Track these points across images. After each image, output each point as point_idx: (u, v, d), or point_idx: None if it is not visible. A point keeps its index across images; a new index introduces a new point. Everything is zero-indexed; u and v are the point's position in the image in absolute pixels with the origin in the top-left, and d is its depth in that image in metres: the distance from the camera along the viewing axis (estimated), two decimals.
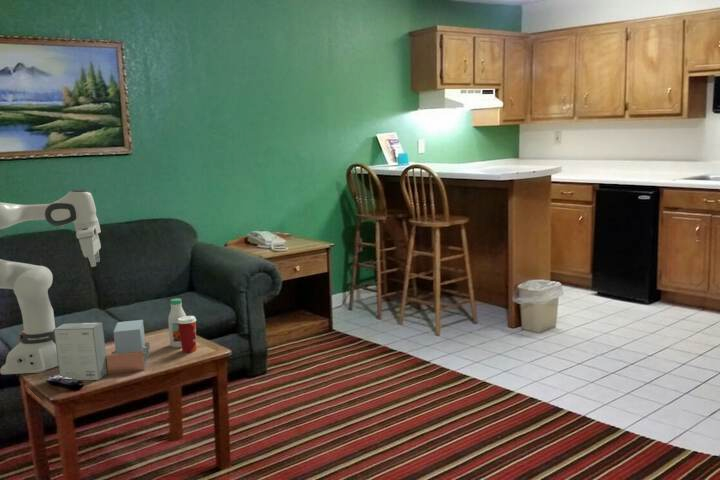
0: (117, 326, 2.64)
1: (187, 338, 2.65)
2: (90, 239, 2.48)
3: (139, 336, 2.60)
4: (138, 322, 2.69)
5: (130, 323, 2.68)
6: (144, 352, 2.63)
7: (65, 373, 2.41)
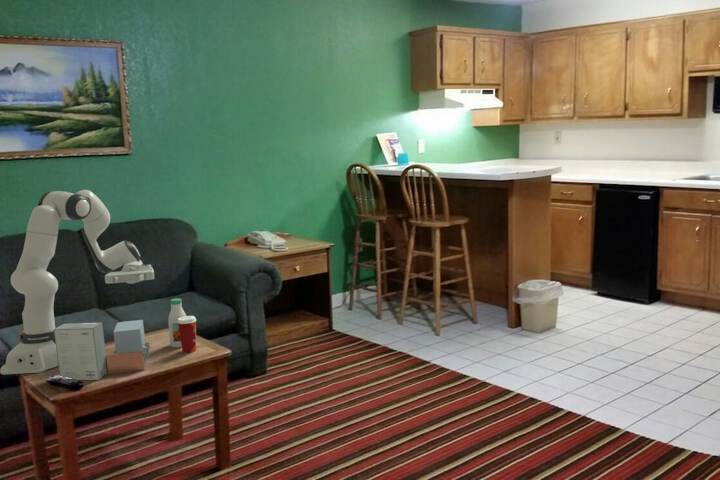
0: (117, 326, 2.64)
1: (187, 338, 2.65)
2: None
3: (139, 336, 2.60)
4: (138, 322, 2.69)
5: (130, 323, 2.68)
6: (144, 352, 2.63)
7: (65, 373, 2.41)
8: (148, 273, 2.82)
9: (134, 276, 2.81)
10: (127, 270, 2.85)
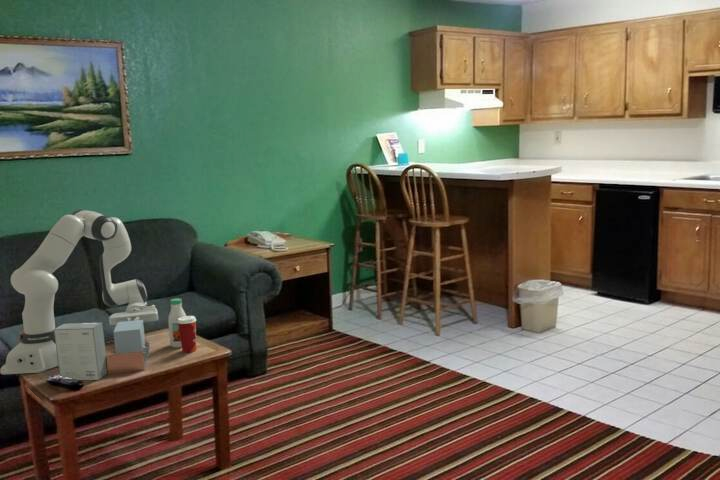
0: (117, 326, 2.64)
1: (187, 338, 2.65)
2: None
3: (139, 336, 2.60)
4: (138, 322, 2.69)
5: (130, 323, 2.68)
6: (144, 352, 2.63)
7: (65, 373, 2.41)
8: (152, 314, 2.83)
9: None
10: (131, 311, 2.87)
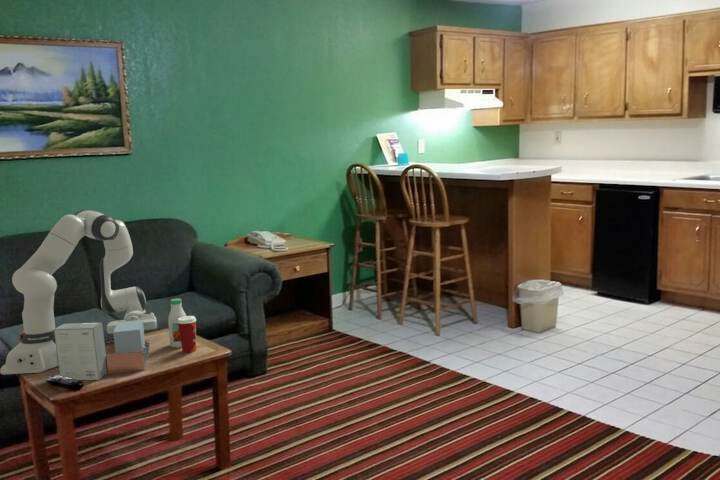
0: (117, 326, 2.64)
1: (187, 338, 2.65)
2: None
3: (139, 336, 2.59)
4: (138, 322, 2.69)
5: (130, 323, 2.68)
6: (144, 352, 2.63)
7: (65, 373, 2.41)
8: (151, 323, 2.78)
9: None
10: (129, 319, 2.81)
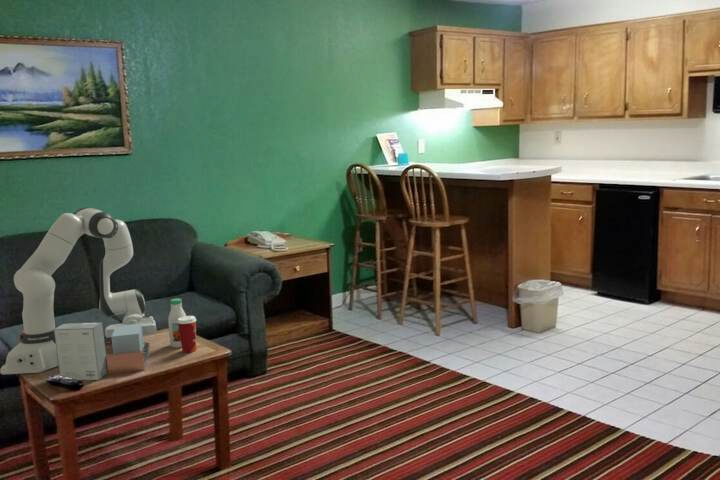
0: (115, 330, 2.58)
1: (187, 338, 2.65)
2: None
3: (138, 341, 2.54)
4: (137, 326, 2.63)
5: (128, 327, 2.62)
6: (144, 352, 2.63)
7: (65, 373, 2.41)
8: (150, 326, 2.73)
9: None
10: (128, 323, 2.76)
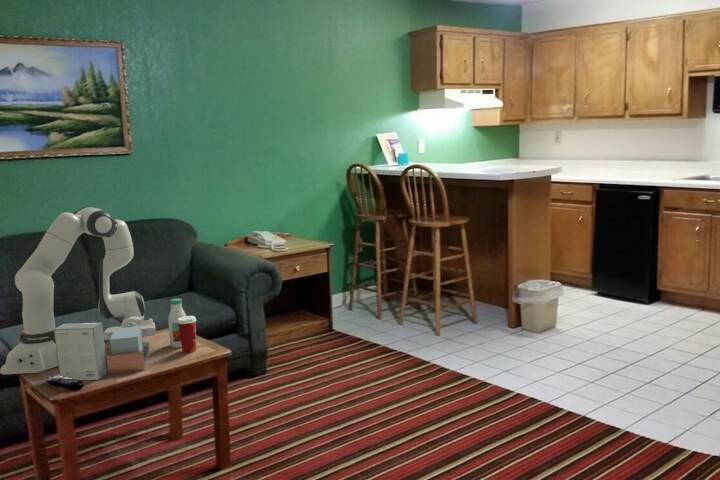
0: (114, 333, 2.55)
1: (187, 338, 2.65)
2: None
3: (137, 344, 2.50)
4: (136, 329, 2.59)
5: (127, 330, 2.58)
6: (144, 352, 2.63)
7: (65, 373, 2.41)
8: (149, 329, 2.69)
9: None
10: (127, 325, 2.72)
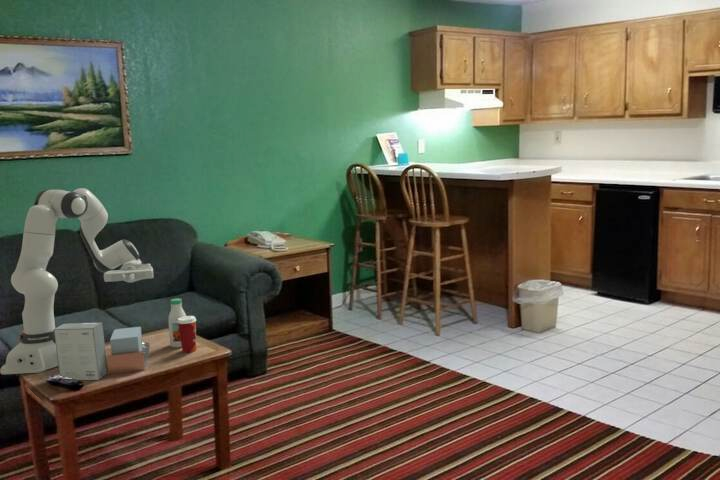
0: (114, 333, 2.54)
1: (187, 338, 2.65)
2: None
3: (137, 344, 2.50)
4: (136, 329, 2.59)
5: (127, 330, 2.58)
6: (144, 352, 2.63)
7: (65, 373, 2.41)
8: (147, 272, 2.80)
9: None
10: (126, 269, 2.83)
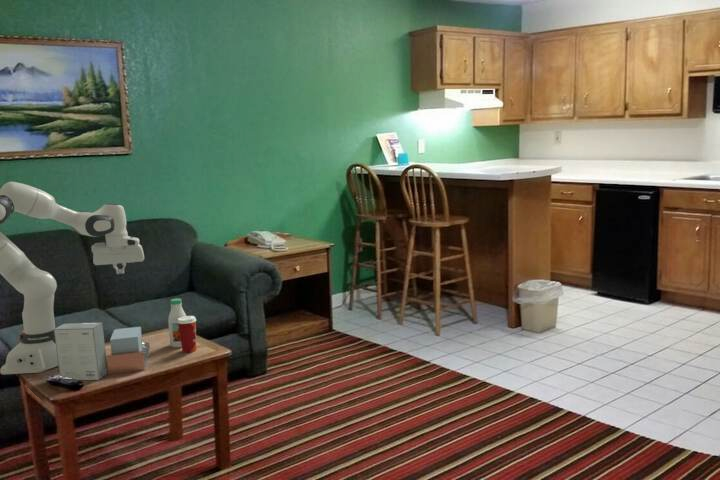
0: (114, 333, 2.54)
1: (187, 338, 2.65)
2: (140, 245, 2.78)
3: (137, 344, 2.50)
4: (136, 329, 2.59)
5: (127, 330, 2.58)
6: (144, 352, 2.63)
7: (65, 373, 2.41)
8: (138, 261, 2.77)
9: None
10: None
